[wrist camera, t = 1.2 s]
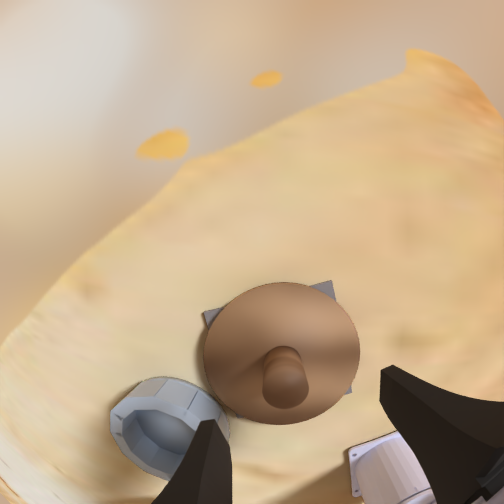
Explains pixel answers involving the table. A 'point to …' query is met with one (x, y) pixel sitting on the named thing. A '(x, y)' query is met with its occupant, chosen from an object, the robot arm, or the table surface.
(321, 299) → the lid
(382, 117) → the table surface
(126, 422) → the bowl
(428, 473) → the robot arm
